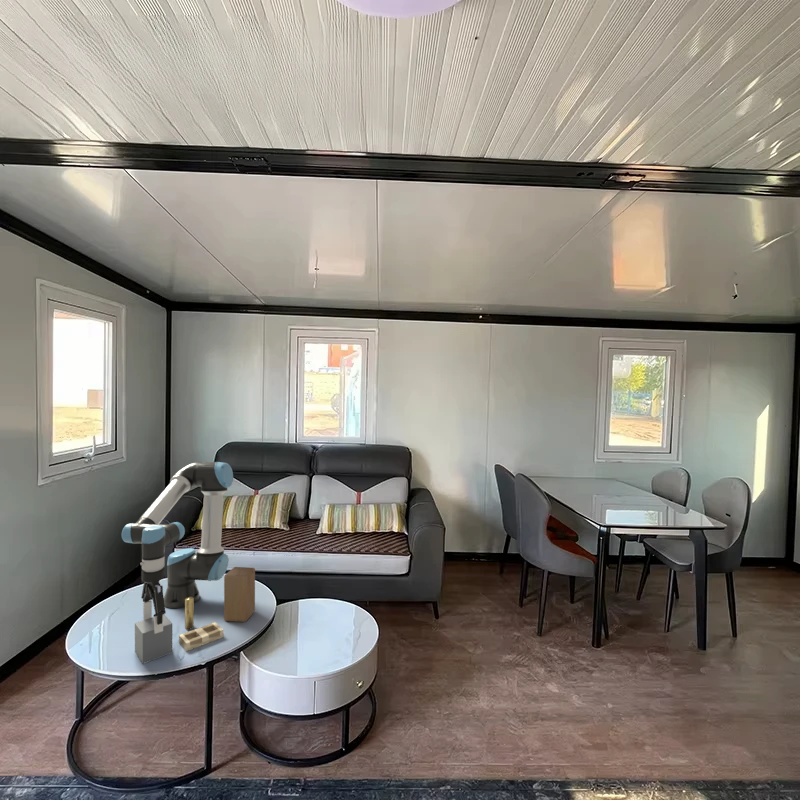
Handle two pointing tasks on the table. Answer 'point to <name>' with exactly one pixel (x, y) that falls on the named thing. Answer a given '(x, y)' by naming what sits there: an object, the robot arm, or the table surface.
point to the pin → (189, 613)
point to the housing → (152, 640)
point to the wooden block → (239, 594)
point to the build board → (200, 636)
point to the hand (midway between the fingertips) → (152, 625)
